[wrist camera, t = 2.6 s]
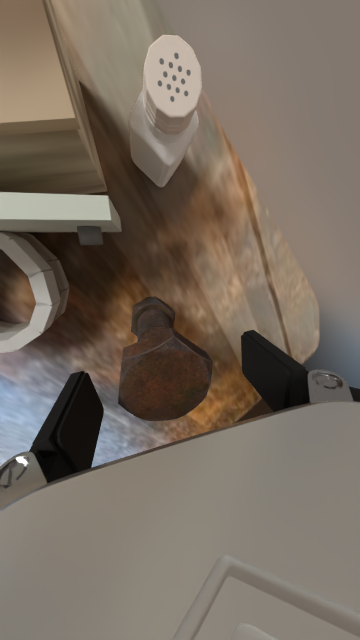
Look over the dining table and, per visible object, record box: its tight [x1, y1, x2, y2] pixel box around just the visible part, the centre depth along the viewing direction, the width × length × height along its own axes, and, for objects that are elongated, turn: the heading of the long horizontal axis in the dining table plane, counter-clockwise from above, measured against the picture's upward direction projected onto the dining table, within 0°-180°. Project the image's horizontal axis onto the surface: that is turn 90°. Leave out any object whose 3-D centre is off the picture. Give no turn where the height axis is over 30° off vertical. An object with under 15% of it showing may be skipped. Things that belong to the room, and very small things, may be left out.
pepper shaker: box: [129, 35, 202, 188], centre depth 14 cm, size 4×4×10 cm
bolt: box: [118, 297, 212, 421], centre depth 17 cm, size 6×5×15 cm
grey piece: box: [0, 192, 122, 353], centre depth 14 cm, size 12×18×8 cm, turn 91°
